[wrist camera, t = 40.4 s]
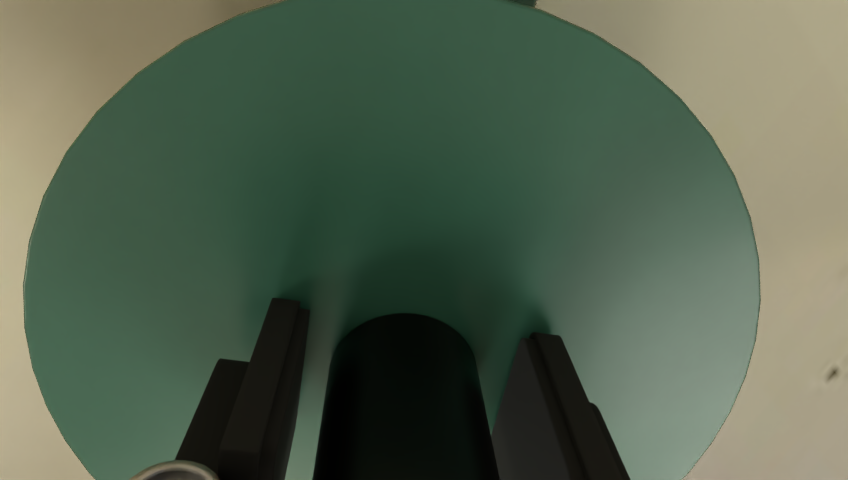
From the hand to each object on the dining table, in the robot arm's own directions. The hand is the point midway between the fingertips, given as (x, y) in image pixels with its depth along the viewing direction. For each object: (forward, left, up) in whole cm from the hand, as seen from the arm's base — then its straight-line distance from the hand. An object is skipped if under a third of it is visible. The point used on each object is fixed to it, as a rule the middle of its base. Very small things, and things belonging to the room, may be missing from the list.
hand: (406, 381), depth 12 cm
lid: (0, 0, -1) cm, 1 cm away
